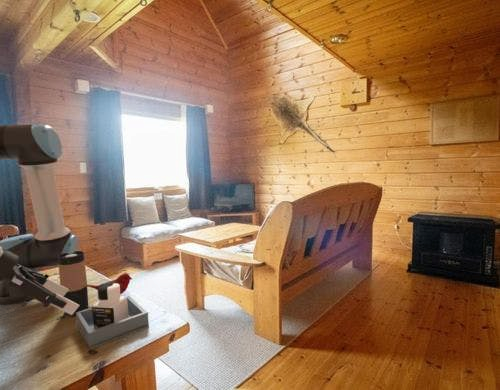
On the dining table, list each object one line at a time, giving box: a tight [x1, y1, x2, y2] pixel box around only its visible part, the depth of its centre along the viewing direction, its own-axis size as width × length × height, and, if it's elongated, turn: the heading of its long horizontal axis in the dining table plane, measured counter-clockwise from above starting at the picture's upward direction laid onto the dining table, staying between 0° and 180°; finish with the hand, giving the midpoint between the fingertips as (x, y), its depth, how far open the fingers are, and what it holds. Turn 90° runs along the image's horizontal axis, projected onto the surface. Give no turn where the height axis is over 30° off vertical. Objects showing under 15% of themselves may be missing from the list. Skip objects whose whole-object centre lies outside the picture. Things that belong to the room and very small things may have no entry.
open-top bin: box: [75, 295, 150, 350], centre depth 91 cm, size 16×16×4 cm
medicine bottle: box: [91, 283, 129, 329], centre depth 90 cm, size 7×7×12 cm
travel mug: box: [58, 250, 89, 318], centre depth 100 cm, size 8×8×20 cm
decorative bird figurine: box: [87, 272, 133, 295], centre depth 109 cm, size 3×18×10 cm, turn 89°
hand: (70, 301), depth 83 cm, fingers open, 13 cm apart
